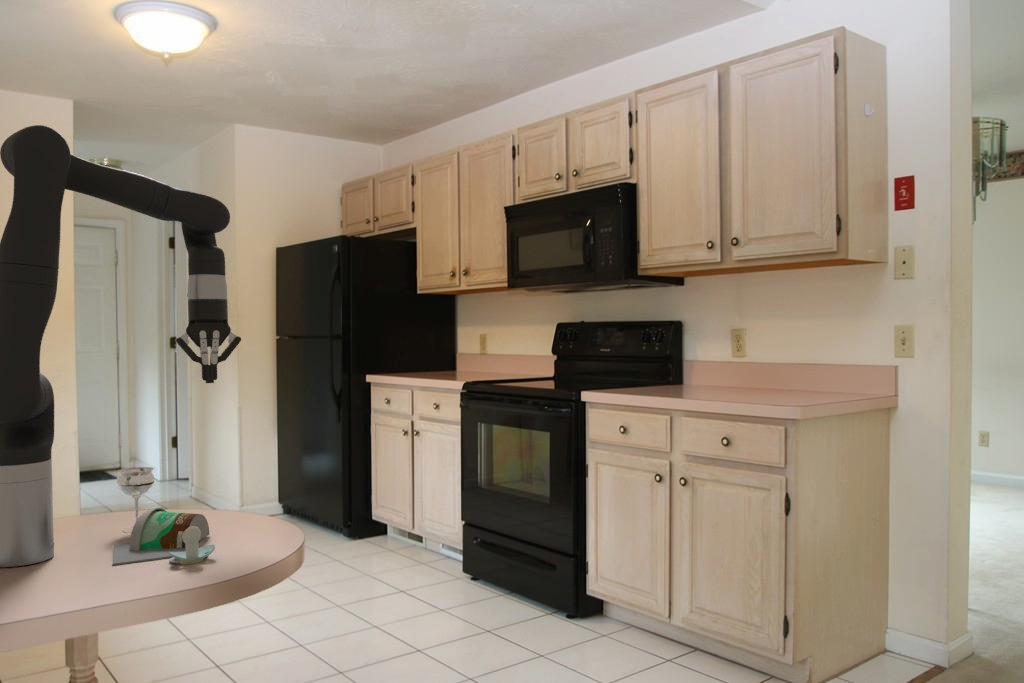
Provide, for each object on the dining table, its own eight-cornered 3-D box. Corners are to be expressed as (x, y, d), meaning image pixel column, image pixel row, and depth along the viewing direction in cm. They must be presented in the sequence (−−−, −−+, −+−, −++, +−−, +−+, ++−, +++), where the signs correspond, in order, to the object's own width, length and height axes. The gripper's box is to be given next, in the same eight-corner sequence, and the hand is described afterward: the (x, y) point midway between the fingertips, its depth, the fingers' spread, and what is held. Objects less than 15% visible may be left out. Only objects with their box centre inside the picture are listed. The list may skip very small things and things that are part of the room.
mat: (112, 565, 131) (112, 563, 131) (113, 546, 143) (113, 544, 143) (201, 553, 137) (201, 551, 137) (195, 535, 149) (195, 534, 149)
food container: (181, 515, 138) (126, 516, 139) (182, 550, 138) (127, 550, 139) (212, 501, 150) (162, 501, 151) (212, 532, 150) (162, 533, 151)
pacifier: (163, 563, 132) (173, 569, 128) (161, 526, 133) (172, 531, 128) (206, 554, 137) (218, 560, 133) (205, 519, 137) (217, 523, 133)
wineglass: (115, 529, 156) (113, 469, 156) (151, 523, 160) (150, 465, 160) (121, 535, 151) (120, 474, 151) (159, 529, 155) (157, 470, 155)
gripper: (173, 297, 152) (175, 385, 152) (244, 297, 157) (246, 382, 158) (171, 299, 158) (173, 383, 158) (239, 299, 164) (241, 380, 164)
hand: (209, 382), depth 158 cm, fingers closed
